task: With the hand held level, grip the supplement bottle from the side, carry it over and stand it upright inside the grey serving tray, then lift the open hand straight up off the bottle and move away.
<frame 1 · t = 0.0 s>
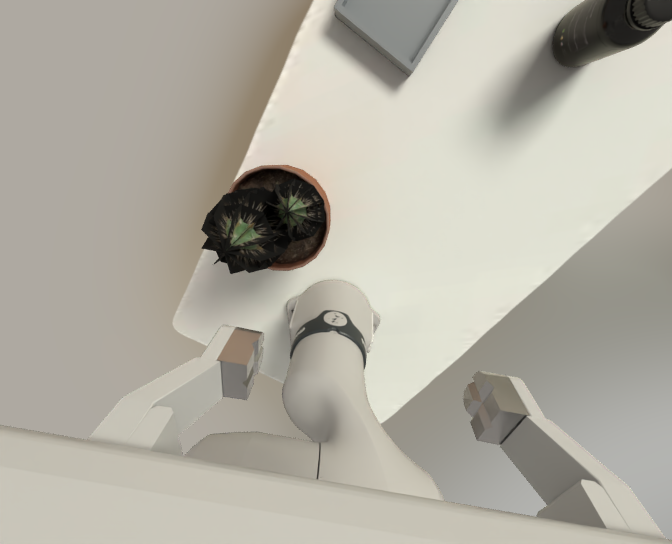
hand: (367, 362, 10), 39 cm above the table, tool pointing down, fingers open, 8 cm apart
potted plant: (296, 202, 47), on the table
supplement bottle: (577, 37, 36), on the table
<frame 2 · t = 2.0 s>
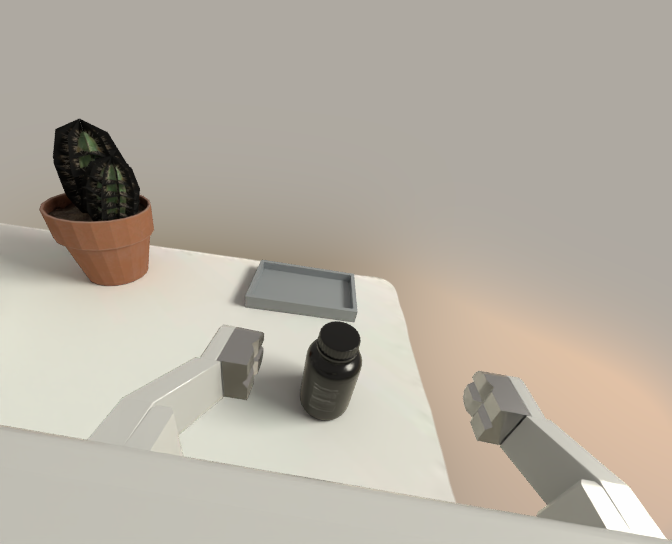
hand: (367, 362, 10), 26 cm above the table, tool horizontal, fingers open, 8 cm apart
potted plant: (119, 272, 51), on the table
supplement bottle: (323, 398, 38), on the table
grey serving tray: (304, 293, 55), on the table
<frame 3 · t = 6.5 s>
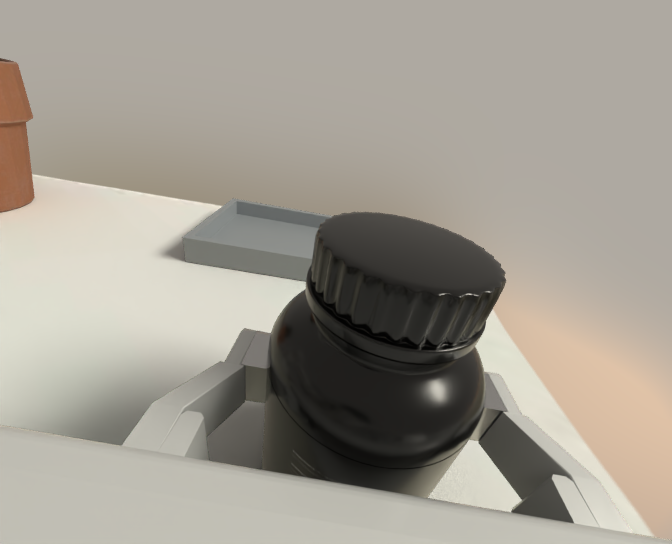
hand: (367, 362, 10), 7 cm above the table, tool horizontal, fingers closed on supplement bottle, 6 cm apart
supplement bottle: (334, 472, 13), on the table, touching gripper
grey serving tray: (301, 250, 32), on the table
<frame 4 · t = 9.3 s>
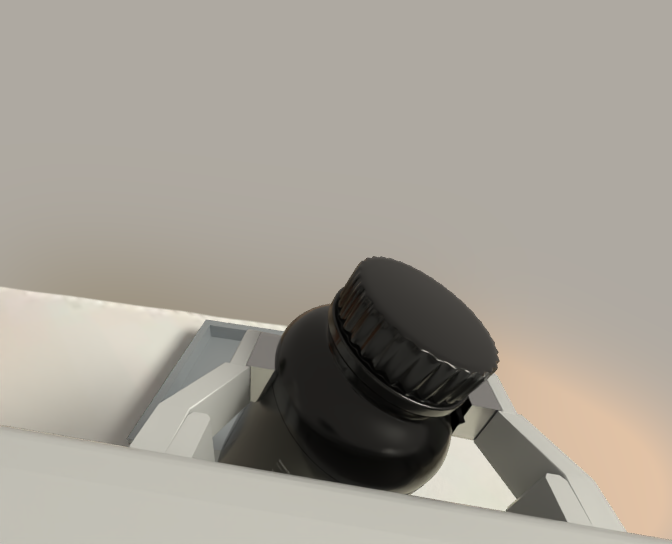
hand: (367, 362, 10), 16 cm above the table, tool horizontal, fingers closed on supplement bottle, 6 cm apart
supplement bottle: (282, 473, 14), point 8 cm above the table, touching gripper
grey serving tray: (285, 398, 26), on the table
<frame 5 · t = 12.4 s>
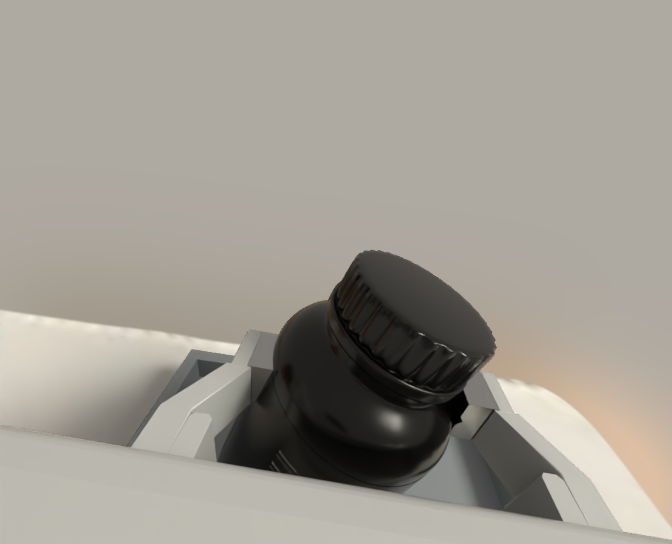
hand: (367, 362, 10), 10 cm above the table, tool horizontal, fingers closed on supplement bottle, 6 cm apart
supplement bottle: (282, 475, 14), point 2 cm above the table, touching grey serving tray, gripper
grey serving tray: (329, 500, 14), on the table
when the fingers open (10 cm above the table, at t = 12.6 s): supplement bottle moves 2 cm, resting on grey serving tray.
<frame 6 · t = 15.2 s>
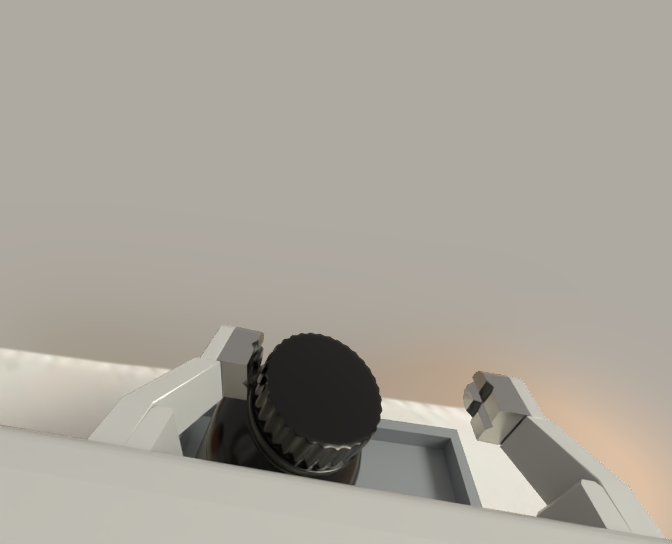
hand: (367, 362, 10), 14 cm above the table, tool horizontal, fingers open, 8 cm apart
supplement bottle: (240, 500, 16), point 2 cm above the table, touching grey serving tray, gripper
grey serving tray: (314, 532, 17), on the table
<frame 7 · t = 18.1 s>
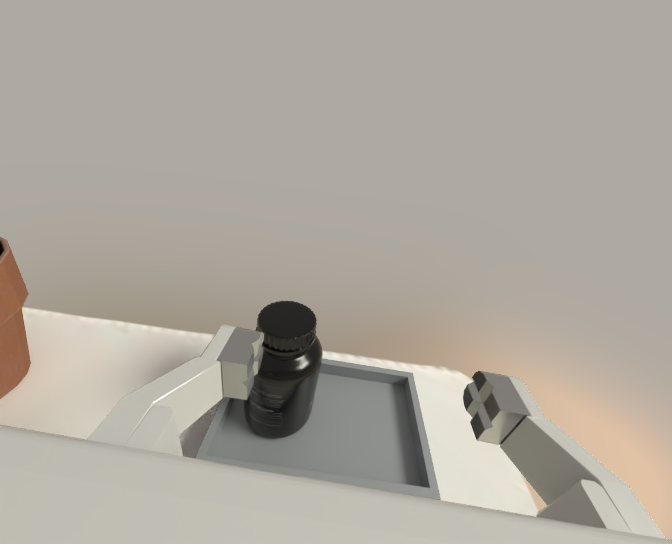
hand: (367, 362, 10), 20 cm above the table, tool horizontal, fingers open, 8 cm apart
supplement bottle: (278, 407, 28), point 1 cm above the table, touching grey serving tray
grey serving tray: (321, 423, 28), on the table
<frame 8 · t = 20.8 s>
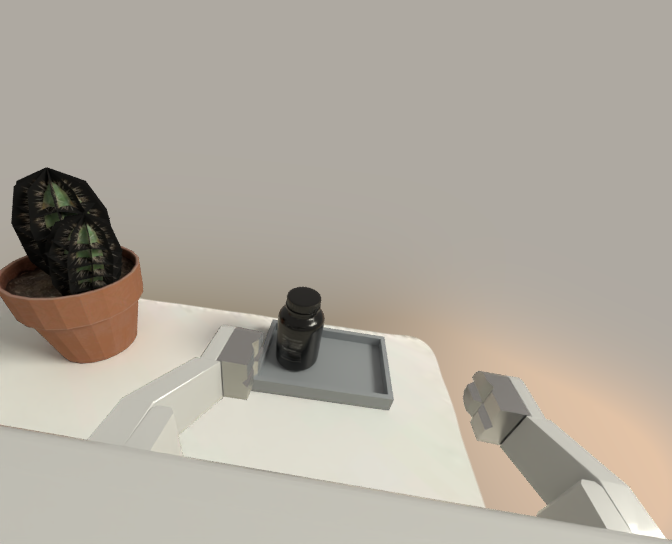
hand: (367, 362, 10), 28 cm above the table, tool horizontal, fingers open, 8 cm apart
potted plant: (102, 341, 42), on the table
supplement bottle: (296, 356, 45), point 1 cm above the table, touching grey serving tray
grey serving tray: (324, 365, 45), on the table
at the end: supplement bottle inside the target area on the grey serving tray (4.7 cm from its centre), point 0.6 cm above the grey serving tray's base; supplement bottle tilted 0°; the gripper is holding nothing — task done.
